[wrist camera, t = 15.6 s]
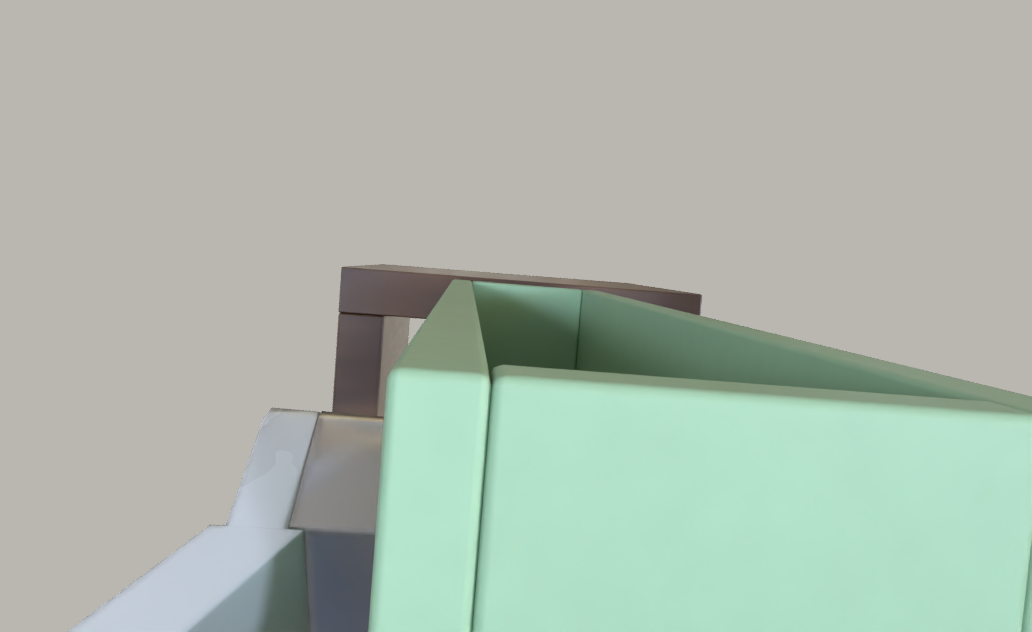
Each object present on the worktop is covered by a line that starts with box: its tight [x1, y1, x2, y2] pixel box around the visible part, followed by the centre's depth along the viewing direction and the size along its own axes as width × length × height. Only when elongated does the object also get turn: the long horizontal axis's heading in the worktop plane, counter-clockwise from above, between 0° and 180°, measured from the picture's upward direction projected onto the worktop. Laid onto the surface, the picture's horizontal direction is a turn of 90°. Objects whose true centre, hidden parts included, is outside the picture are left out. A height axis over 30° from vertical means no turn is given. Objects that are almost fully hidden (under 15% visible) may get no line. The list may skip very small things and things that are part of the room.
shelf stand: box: [332, 264, 702, 417], centre depth 37 cm, size 12×14×26 cm
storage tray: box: [368, 279, 1032, 632], centre depth 16 cm, size 4×22×4 cm, turn 3°
